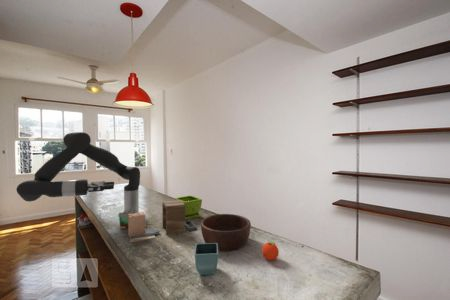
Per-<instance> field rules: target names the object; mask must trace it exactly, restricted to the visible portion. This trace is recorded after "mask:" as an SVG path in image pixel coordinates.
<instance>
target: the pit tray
mask: <svg viewBox="0 0 450 300" xmlns="http://www.w3.org/2000/svg"><path fill="white" fill-rule="evenodd" d="M197 227H198V226H197V225H196V224H195V223H194V222H193V221H192V220H191V219H188V220H185V230H186V231H188V232H190V231H196V230H197Z"/></svg>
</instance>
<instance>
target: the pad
mask: <svg viewBox="0 0 450 300" xmlns="http://www.w3.org/2000/svg"><path fill="white" fill-rule="evenodd" d="M155 235H156V234H154V235H148V236H143V237H137V238H131V236H129V242H130V243H135V242H140V241H146V240H151V239H156V236H155Z"/></svg>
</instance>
